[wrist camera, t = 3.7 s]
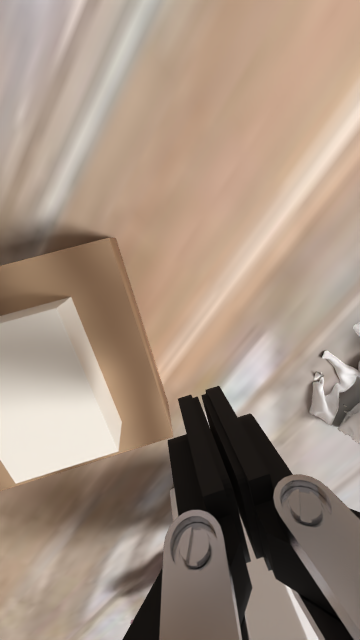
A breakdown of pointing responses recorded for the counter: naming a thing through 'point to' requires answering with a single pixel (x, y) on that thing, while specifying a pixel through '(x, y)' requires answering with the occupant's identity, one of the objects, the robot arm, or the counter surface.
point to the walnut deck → (97, 333)
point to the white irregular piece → (337, 396)
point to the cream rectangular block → (51, 393)
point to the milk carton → (269, 601)
